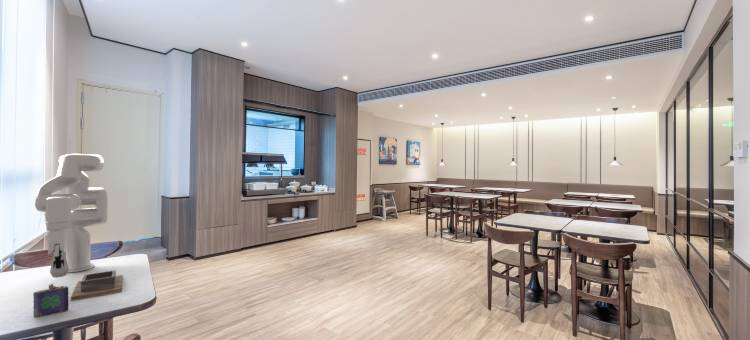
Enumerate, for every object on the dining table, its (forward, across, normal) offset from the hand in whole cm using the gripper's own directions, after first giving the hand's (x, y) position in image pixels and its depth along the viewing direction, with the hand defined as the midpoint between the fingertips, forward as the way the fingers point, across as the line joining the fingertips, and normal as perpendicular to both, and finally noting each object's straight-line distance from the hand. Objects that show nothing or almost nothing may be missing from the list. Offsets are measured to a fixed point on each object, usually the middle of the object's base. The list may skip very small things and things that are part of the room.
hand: (59, 268), depth 139 cm
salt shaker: (+3, 0, 0) cm, 3 cm away
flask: (+10, +24, +1) cm, 26 cm away
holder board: (+11, +2, +13) cm, 17 cm away
